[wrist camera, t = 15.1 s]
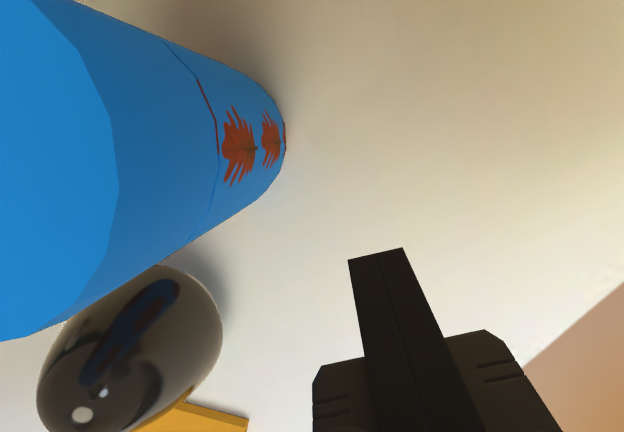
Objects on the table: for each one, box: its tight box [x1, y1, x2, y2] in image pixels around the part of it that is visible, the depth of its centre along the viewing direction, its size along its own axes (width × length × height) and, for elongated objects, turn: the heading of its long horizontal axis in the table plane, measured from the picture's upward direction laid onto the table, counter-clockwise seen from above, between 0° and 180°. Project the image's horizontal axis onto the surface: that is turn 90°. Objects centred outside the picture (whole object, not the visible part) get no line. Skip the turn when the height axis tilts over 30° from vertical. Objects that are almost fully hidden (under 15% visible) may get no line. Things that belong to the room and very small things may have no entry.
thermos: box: [0, 0, 286, 342], centre depth 26 cm, size 11×11×25 cm
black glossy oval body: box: [36, 265, 223, 432], centre depth 33 cm, size 10×10×15 cm
